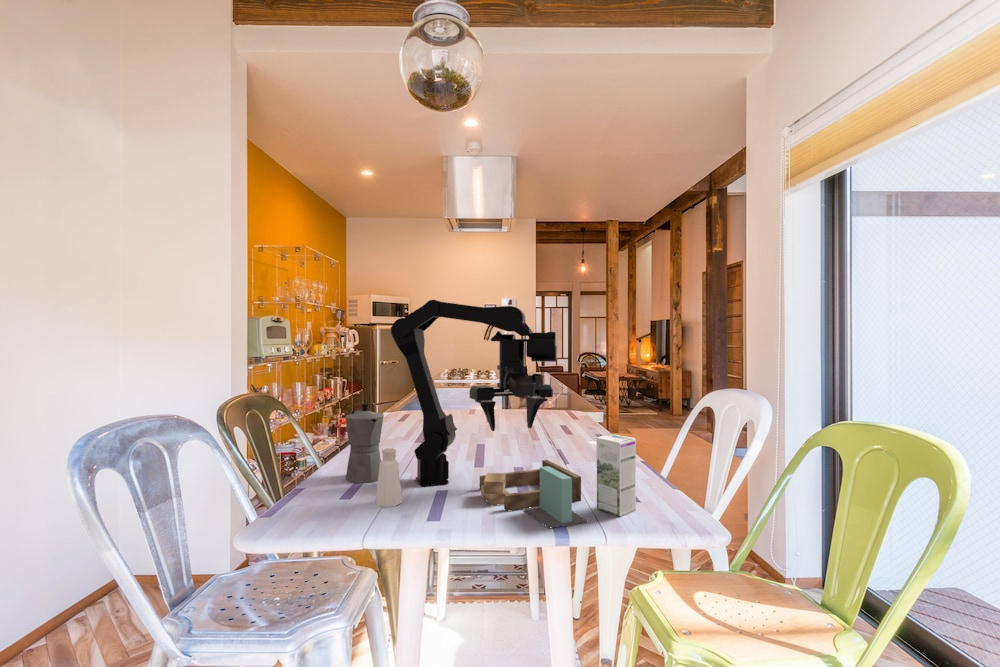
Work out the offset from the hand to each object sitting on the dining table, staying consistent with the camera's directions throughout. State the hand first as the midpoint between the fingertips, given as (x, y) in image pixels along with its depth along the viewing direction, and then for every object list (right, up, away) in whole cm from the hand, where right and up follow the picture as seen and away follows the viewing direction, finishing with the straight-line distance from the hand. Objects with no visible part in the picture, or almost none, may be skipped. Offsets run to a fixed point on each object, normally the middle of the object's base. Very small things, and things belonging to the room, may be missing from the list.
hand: (511, 429), depth 114 cm
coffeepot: (-36, -13, +7) cm, 39 cm away
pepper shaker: (-25, -13, -12) cm, 31 cm away
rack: (+4, -13, -6) cm, 15 cm away
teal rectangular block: (+8, -13, -19) cm, 24 cm away
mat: (+8, -13, -19) cm, 24 cm away
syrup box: (+20, -13, -15) cm, 29 cm away
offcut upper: (-4, -11, -9) cm, 15 cm away
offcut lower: (-4, -13, -9) cm, 17 cm away
